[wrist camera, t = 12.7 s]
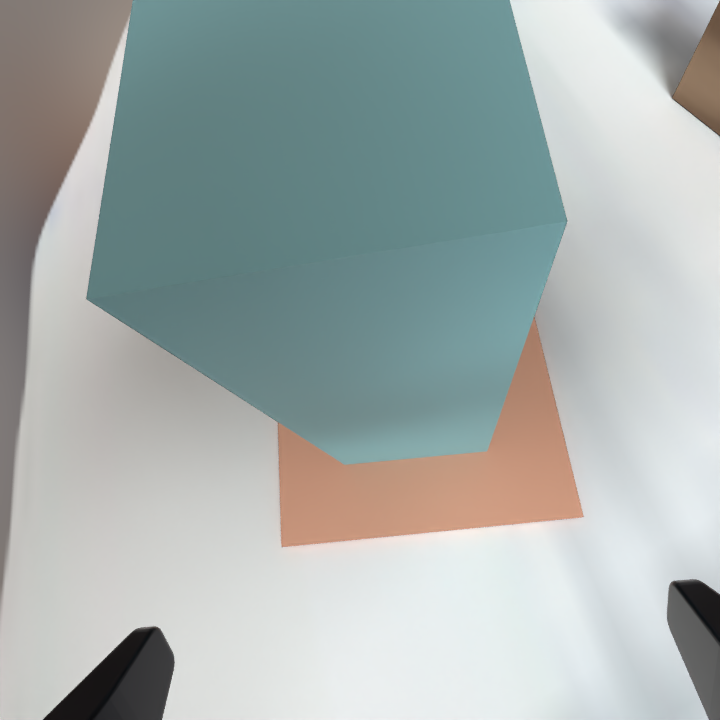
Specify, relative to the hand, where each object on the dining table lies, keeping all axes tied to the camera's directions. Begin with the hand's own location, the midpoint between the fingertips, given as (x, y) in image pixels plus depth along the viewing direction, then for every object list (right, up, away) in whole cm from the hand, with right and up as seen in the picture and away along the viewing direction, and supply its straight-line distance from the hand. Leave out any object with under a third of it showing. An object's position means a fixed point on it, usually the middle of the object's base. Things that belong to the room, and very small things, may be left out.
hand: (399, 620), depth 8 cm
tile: (+1, +3, +10) cm, 10 cm away
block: (+1, +3, +9) cm, 10 cm away
